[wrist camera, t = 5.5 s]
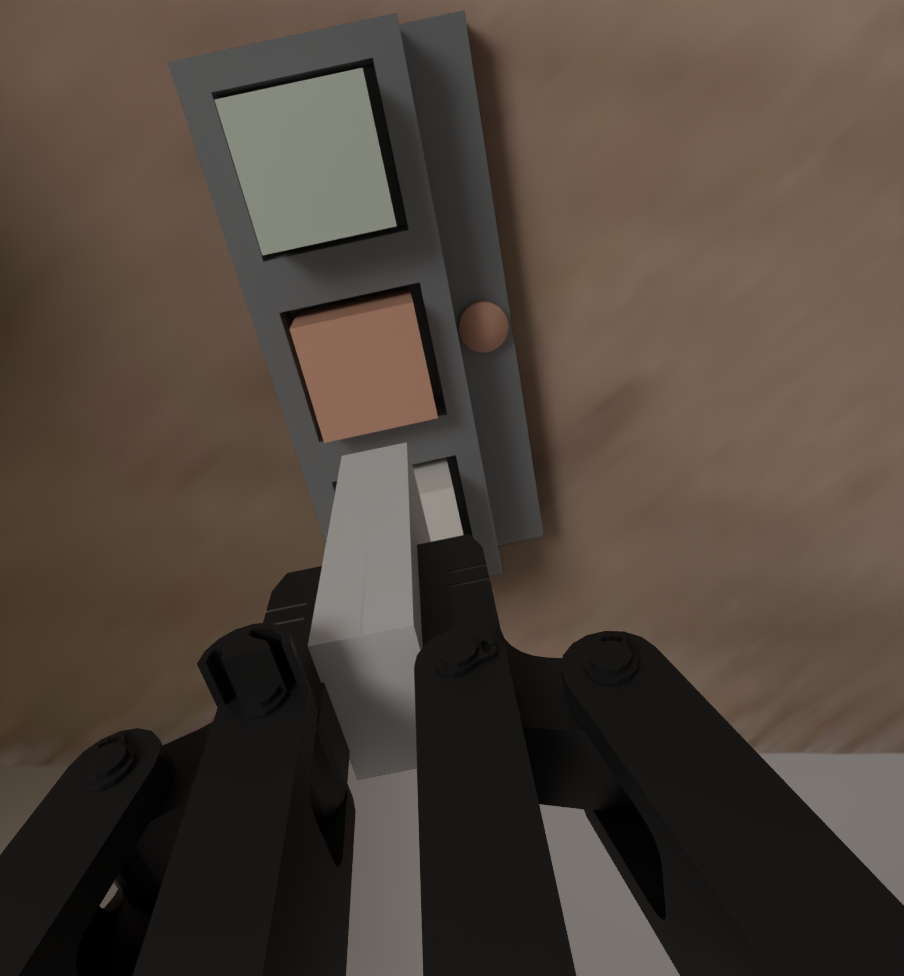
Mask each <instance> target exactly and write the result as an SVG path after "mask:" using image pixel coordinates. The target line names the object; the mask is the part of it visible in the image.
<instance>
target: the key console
mask: <svg viewBox="0 0 904 976" xmlns="http://www.w3.org/2000/svg"><path fill="white" fill-rule="evenodd" d="M168 65H169V68H170V71H171V74H172V77H173V80H174V83H175V86H176V89H177V92H178V95H179V98H180V101H181V104H182V107H183V110H184V113H185V116H186V119H187V122H188V125H189V128H190V131H191V134H192V138H193V141H194V144H195V147H196V150H197V153H198V156H199V159H200V162H201V165H202V168H203V171H204V174H205V177H206V180H207V183H208V186H209V189H210V192H211V195H212V198H213V201H214V204H215V208H216V211H217V214H218V217H219V220H220V223H221V226H222V229H223V232H224V235H225V238H226V241H227V244H228V247H229V250H230V253H231V256H232V259H233V262H234V265H235V268H236V271H237V274H238V277H239V281H240V284H241V287H242V290H243V293H244V296H245V299H246V302H247V305H248V308H249V311H250V314H251V317H252V320H253V323H254V326H255V329H256V332H257V335H258V338H259V341H260V344H261V347H262V350H263V354H264V357H265V360H266V363H267V366H268V369H269V372H270V375H271V378H272V381H273V384H274V387H275V390H276V393H277V396H278V399H279V402H280V405H281V408H282V411H283V414H284V417H285V420H286V424H287V427H288V430H289V433H290V436H291V439H292V442H293V445H294V448H295V451H296V454H297V457H298V460H299V463H300V466H301V469H302V472H303V475H304V478H305V481H306V484H307V487H308V490H309V493H310V497H311V500H312V503H313V506H314V509H315V512H316V515H317V518H318V521H319V524H320V527H321V530H322V533H323V536H324V539H325V542H326V541H327V536H328V530H329V525H330V519H331V513H332V508H333V502H334V497H335V491H336V485H337V480H338V474H339V469H340V463H341V458H342V456H344V455H348V454H353V453H358V452H363V451H368V450H372V449H377V448H382V447H387V446H392V445H396V444H401V443H406V442H407V445H408V449H409V454H410V458H411V462H412V465H413V464H417V463H422V462H427V461H431V460H436V459H440V458H445V457H446V459H447V463H448V467H449V472H450V476H451V480H452V485H453V489H454V494H455V498H456V503H457V508H458V512H459V517H460V522H461V526H462V531H463V535H467V534H469V535H470V536H471V537H472V538H474V539H475V540H476V541H477V542H478V543H479V544H480V545H482V547H483V551H484V556H485V560H486V565H487V569H488V574H489V576H492V575H497V574H502V573H503V570H502V565H501V559H500V554H499V549H498V546H500V545H505V544H509V543H514V542H518V541H523V540H527V539H532V538H537V537H541V536H544V534H543V527H542V521H541V514H540V508H539V501H538V494H537V488H536V481H535V475H534V468H533V461H532V455H531V448H530V442H529V435H528V428H527V422H526V415H525V409H524V402H523V395H522V389H521V382H520V375H519V369H518V362H517V356H516V349H515V342H514V336H513V329H512V323H511V316H510V309H509V303H508V296H507V290H506V283H505V276H504V270H503V263H502V256H501V250H500V243H499V237H498V230H497V223H496V217H495V210H494V204H493V197H492V190H491V184H490V177H489V171H488V164H487V157H486V151H485V144H484V138H483V131H482V124H481V118H480V111H479V104H478V98H477V91H476V85H475V78H474V71H473V65H472V58H471V52H470V45H469V38H468V32H467V25H466V19H465V12H464V11H459V12H455V13H450V14H446V15H441V16H436V17H432V18H427V19H422V20H418V21H413V22H409V23H404V24H399V22H398V16H397V13H394V14H389V15H385V16H380V17H375V18H371V19H366V20H361V21H357V22H352V23H348V24H343V25H338V26H334V27H329V28H324V29H320V30H315V31H310V32H306V33H301V34H297V35H292V36H287V37H283V38H278V39H273V40H269V41H264V42H260V43H255V44H250V45H246V46H241V47H236V48H232V49H227V50H222V51H218V52H213V53H209V54H204V55H199V56H195V57H190V58H185V59H181V60H176V61H172V62H168ZM359 68H363V72H364V77H365V81H366V86H367V91H368V95H369V100H370V105H371V109H372V114H373V118H374V123H375V128H376V132H377V137H378V142H379V146H380V151H381V156H382V160H383V165H384V169H385V174H386V179H387V183H388V188H389V193H390V197H391V202H392V206H393V211H394V216H395V220H396V225H397V226H396V227H391V228H386V229H382V230H377V231H373V232H368V233H363V234H359V235H354V236H350V237H345V238H340V239H336V240H331V241H327V242H322V243H317V244H313V245H308V246H304V247H299V248H294V249H290V250H285V251H281V252H276V253H271V254H267V255H262V253H261V249H260V246H259V243H258V240H257V236H256V233H255V230H254V227H253V223H252V220H251V217H250V214H249V210H248V207H247V204H246V201H245V197H244V194H243V191H242V188H241V184H240V181H239V178H238V175H237V171H236V168H235V165H234V162H233V159H232V155H231V152H230V149H229V146H228V142H227V139H226V136H225V133H224V129H223V126H222V123H221V120H220V116H219V113H218V110H217V107H216V103H215V99H220V98H225V97H229V96H234V95H239V94H243V93H248V92H252V91H257V90H262V89H266V88H271V87H276V86H280V85H285V84H289V83H294V82H299V81H303V80H308V79H312V78H317V77H322V76H326V75H331V74H336V73H340V72H345V71H349V70H354V69H359ZM407 287H409V288H410V292H411V296H412V300H413V304H414V309H415V314H416V318H417V323H418V328H419V332H420V337H421V342H422V346H423V351H424V355H425V360H426V365H427V369H428V374H429V379H430V383H431V388H432V392H433V397H434V402H435V406H436V411H437V416H438V418H436V419H432V420H427V421H423V422H418V423H414V424H409V425H404V426H400V427H395V428H391V429H386V430H382V431H377V432H372V433H368V434H363V435H359V436H354V437H350V438H345V439H340V440H336V441H331V442H327V443H324V441H323V437H322V434H321V431H320V428H319V424H318V421H317V418H316V414H315V411H314V408H313V405H312V401H311V398H310V395H309V391H308V388H307V385H306V382H305V378H304V375H303V372H302V369H301V365H300V362H299V359H298V355H297V352H296V349H295V346H294V342H293V339H292V336H291V333H290V327H291V325H292V323H293V321H294V319H295V317H296V315H297V313H298V311H301V310H306V309H310V308H315V307H319V306H324V305H329V304H333V303H338V302H342V301H347V300H352V299H356V298H361V297H365V296H370V295H375V294H379V293H384V292H388V291H393V290H397V289H402V288H407Z"/></svg>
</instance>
